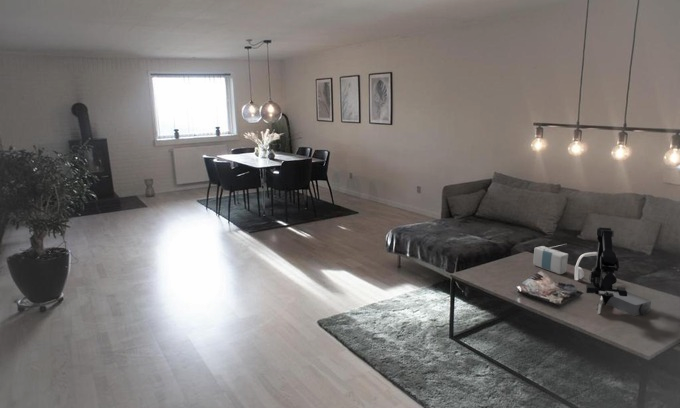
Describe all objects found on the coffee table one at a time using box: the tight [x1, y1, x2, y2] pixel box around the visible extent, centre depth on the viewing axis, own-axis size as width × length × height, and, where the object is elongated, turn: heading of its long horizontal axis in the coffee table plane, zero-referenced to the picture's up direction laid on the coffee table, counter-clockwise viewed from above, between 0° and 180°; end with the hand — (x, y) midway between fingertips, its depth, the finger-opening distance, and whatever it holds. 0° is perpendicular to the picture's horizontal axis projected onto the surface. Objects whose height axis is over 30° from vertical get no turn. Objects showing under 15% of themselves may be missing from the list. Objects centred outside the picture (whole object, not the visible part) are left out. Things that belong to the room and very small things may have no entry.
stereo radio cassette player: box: [532, 243, 569, 275], centre depth 304 cm, size 21×8×20 cm, turn 28°
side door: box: [595, 295, 604, 315], centre depth 249 cm, size 17×2×6 cm, turn 146°
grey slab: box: [599, 287, 652, 317], centre depth 250 cm, size 21×12×7 cm, turn 23°
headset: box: [573, 251, 598, 281], centre depth 287 cm, size 20×7×18 cm, turn 101°
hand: (604, 305), depth 246 cm, fingers closed
